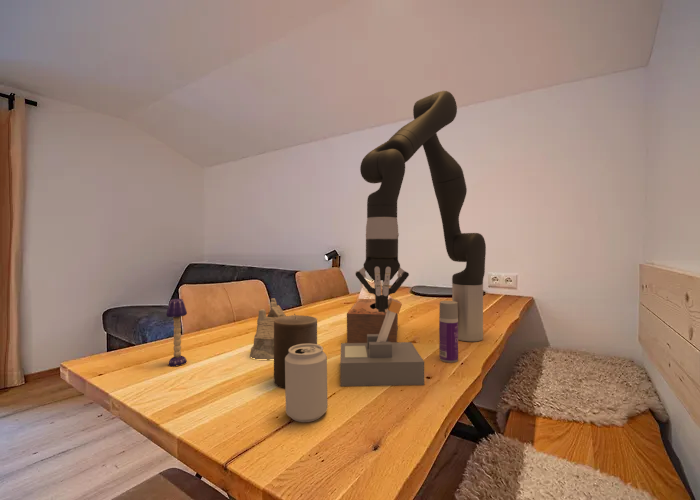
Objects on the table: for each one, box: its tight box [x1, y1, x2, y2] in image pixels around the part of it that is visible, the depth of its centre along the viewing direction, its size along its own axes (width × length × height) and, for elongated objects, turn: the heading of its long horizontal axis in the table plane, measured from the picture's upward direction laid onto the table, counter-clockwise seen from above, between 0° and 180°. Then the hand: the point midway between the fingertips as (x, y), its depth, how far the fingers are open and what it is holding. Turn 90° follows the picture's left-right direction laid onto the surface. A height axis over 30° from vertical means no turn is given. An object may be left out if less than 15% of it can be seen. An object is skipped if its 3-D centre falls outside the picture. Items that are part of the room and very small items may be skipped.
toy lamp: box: [166, 298, 188, 367], centre depth 85 cm, size 5×5×17 cm
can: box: [284, 343, 328, 423], centre depth 60 cm, size 8×8×12 cm
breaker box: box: [339, 334, 425, 387], centre depth 78 cm, size 14×18×8 cm
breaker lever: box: [376, 297, 403, 342], centre depth 78 cm, size 4×2×12 cm, turn 1°
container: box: [438, 300, 459, 364], centre depth 86 cm, size 5×5×15 cm
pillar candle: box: [273, 313, 318, 389], centre depth 75 cm, size 10×10×15 cm
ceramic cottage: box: [249, 298, 287, 359], centre depth 94 cm, size 16×16×15 cm
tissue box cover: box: [346, 298, 399, 343], centre depth 110 cm, size 26×14×10 cm, turn 171°
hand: (381, 311), depth 78 cm, fingers closed
